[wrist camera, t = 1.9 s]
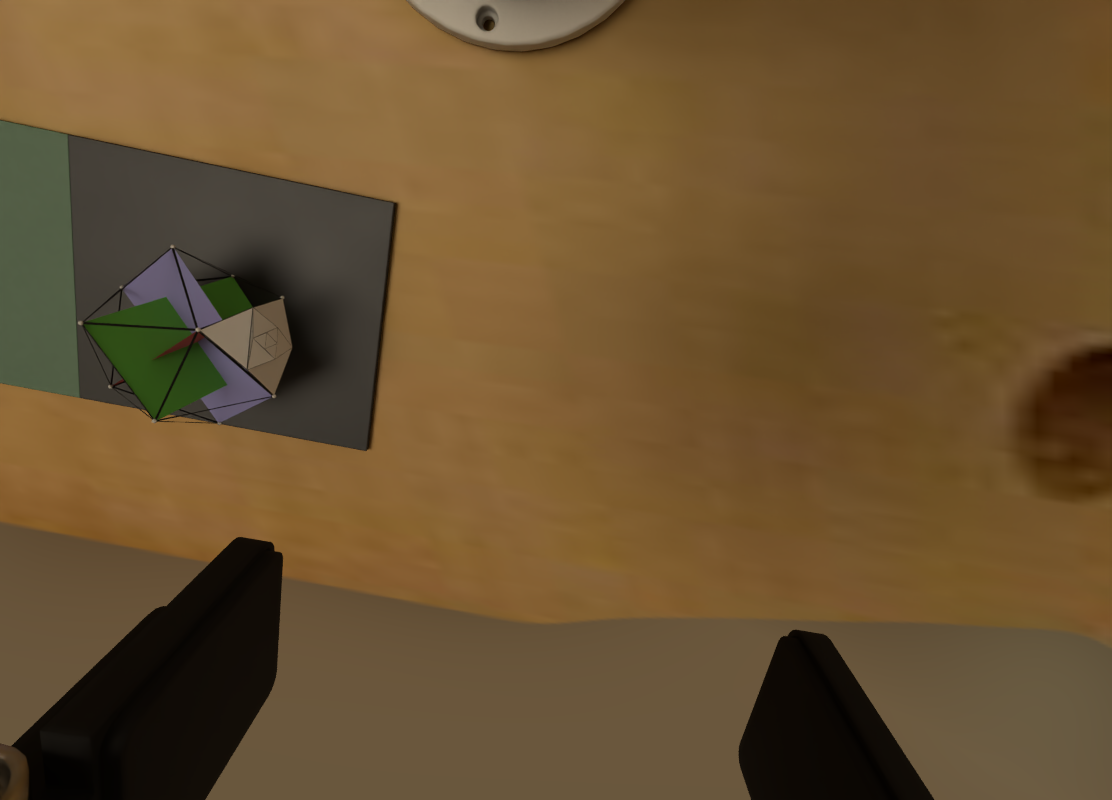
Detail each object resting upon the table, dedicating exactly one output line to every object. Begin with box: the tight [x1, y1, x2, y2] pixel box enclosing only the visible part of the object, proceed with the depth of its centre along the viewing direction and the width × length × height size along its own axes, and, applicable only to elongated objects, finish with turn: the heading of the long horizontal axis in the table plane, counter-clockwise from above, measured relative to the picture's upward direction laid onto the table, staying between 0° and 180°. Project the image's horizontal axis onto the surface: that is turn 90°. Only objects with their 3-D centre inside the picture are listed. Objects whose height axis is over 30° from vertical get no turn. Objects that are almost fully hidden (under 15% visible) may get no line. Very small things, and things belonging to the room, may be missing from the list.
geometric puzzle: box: [78, 245, 293, 425], centre depth 24 cm, size 7×7×8 cm
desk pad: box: [0, 120, 396, 451], centre depth 26 cm, size 12×26×1 cm, turn 79°
